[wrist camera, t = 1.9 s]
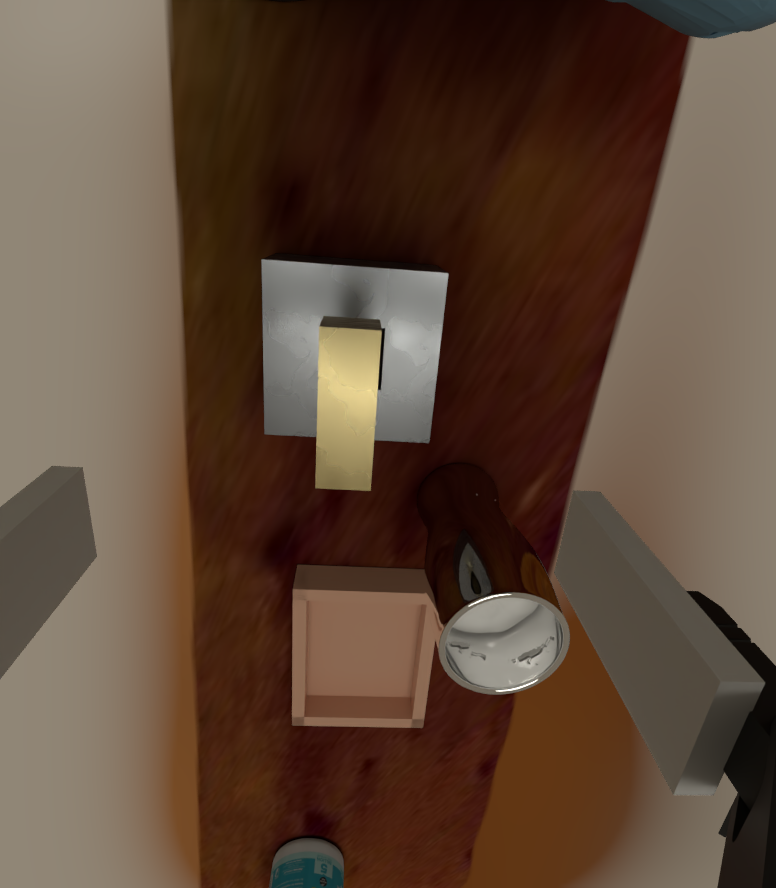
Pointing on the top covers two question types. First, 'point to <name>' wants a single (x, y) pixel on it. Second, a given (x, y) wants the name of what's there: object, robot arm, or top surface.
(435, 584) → the beer glass
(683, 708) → the robot arm
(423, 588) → the pale pink tray
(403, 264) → the grey square block
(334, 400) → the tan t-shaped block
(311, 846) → the pill bottle
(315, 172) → the top surface
